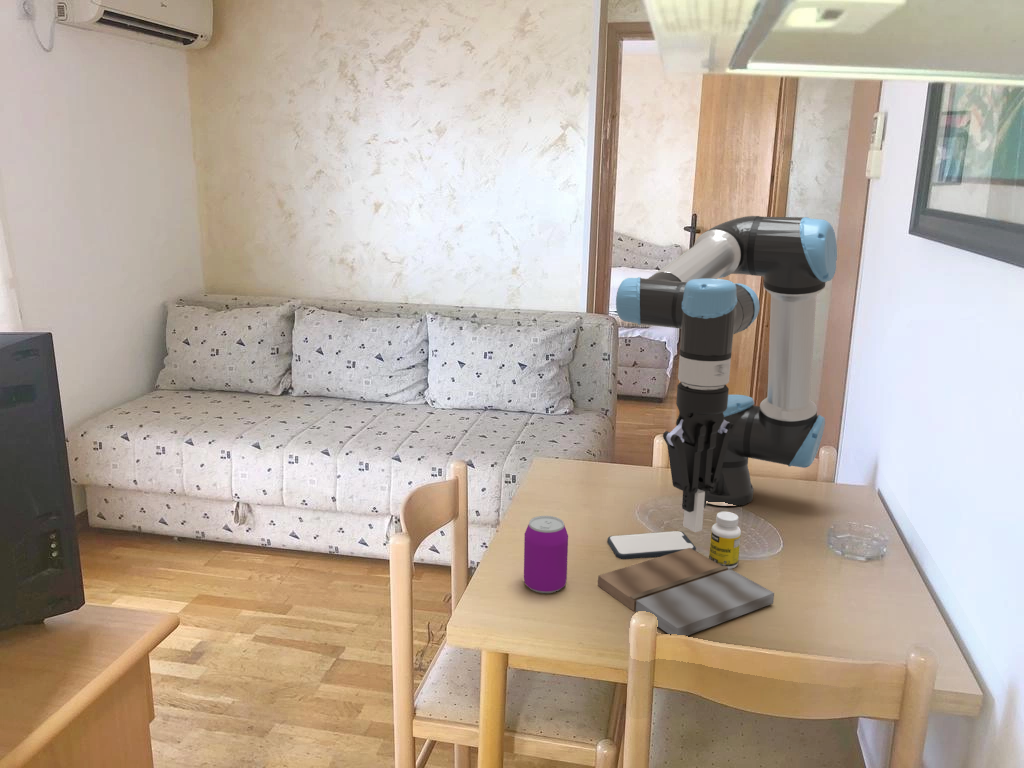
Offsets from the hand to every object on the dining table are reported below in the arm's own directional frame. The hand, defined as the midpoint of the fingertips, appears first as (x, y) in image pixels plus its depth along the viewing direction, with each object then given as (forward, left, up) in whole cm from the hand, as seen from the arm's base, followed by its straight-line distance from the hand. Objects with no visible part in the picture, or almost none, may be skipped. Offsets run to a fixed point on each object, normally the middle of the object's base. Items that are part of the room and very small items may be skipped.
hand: (692, 528), depth 126 cm
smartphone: (-14, -25, -18) cm, 34 cm away
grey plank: (-7, -2, -17) cm, 19 cm away
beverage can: (+12, -23, -18) cm, 31 cm away
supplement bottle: (-22, -13, -18) cm, 31 cm away
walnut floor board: (-7, -13, -18) cm, 23 cm away
